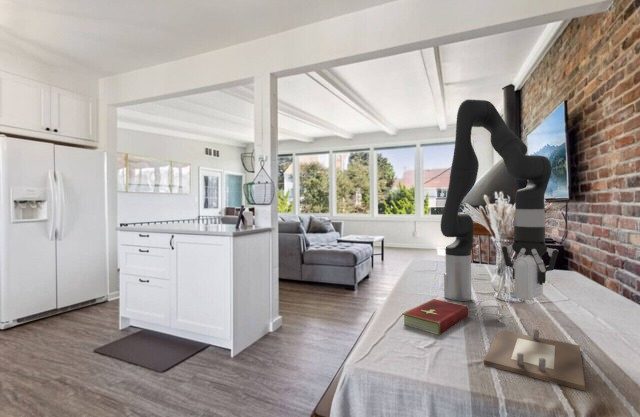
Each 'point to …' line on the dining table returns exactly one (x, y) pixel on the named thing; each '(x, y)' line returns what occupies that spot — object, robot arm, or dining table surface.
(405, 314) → the hardcover book
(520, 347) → the walnut dock
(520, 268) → the photo printer
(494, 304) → the white arched piece
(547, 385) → the dining table surface
